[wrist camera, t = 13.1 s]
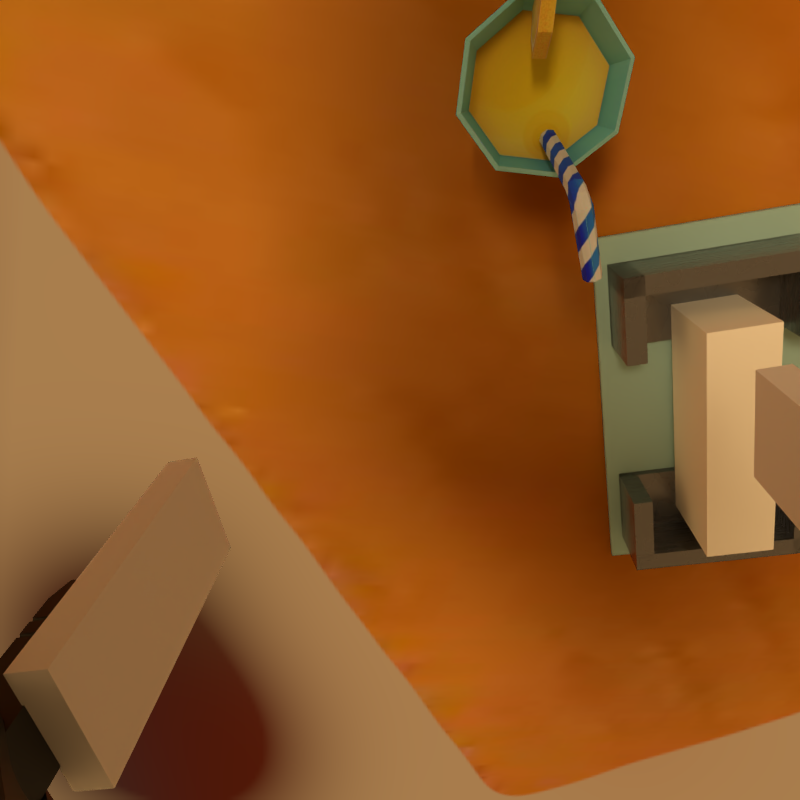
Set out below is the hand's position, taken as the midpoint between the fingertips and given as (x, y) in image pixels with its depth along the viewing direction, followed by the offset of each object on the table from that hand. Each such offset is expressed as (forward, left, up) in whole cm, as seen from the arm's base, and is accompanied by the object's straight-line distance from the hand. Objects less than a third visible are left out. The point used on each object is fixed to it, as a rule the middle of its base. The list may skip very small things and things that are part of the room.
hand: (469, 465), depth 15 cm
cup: (-7, +5, -28) cm, 30 cm away
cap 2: (+20, +15, -28) cm, 38 cm away
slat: (+13, +15, -27) cm, 34 cm away
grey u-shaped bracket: (+5, +15, -28) cm, 32 cm away
